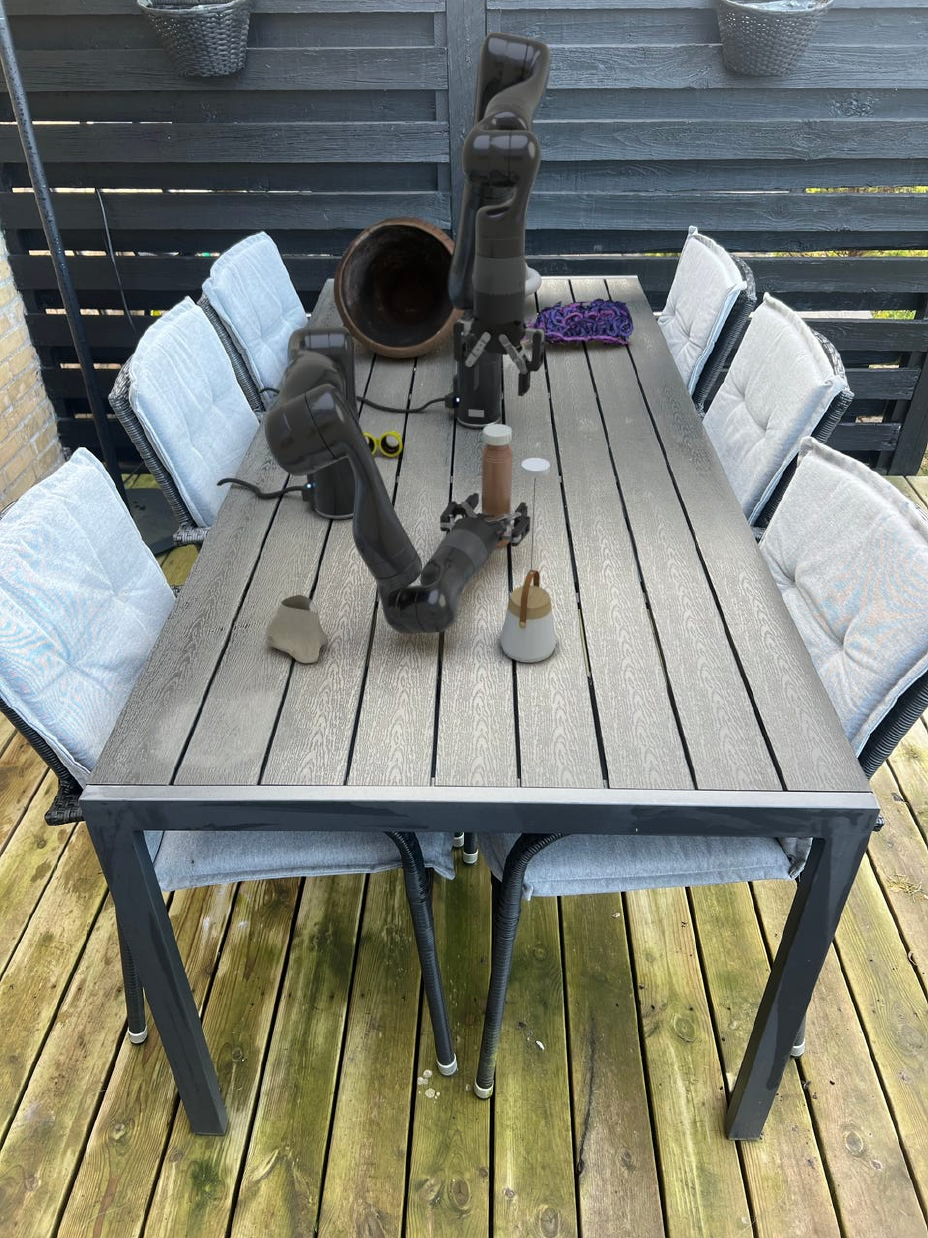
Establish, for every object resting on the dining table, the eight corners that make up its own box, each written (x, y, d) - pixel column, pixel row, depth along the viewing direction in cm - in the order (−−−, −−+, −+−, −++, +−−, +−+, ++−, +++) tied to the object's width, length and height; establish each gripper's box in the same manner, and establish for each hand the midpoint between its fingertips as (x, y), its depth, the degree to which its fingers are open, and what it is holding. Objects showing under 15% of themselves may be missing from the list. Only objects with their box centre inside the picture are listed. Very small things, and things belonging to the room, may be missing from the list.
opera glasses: (402, 450, 189) (400, 426, 187) (403, 457, 184) (401, 432, 182) (354, 452, 188) (352, 428, 186) (354, 460, 184) (352, 435, 182)
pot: (369, 208, 238) (367, 184, 209) (481, 265, 243) (494, 249, 214) (320, 328, 244) (311, 320, 215) (430, 381, 249) (435, 380, 220)
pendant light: (546, 668, 133) (557, 484, 115) (492, 656, 136) (495, 473, 117) (562, 635, 139) (574, 455, 121) (510, 624, 142) (515, 445, 123)
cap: (511, 432, 151) (511, 423, 150) (512, 445, 147) (512, 436, 147) (482, 432, 151) (482, 423, 150) (483, 445, 147) (483, 436, 147)
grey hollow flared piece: (327, 654, 140) (334, 590, 137) (317, 670, 132) (324, 604, 130) (268, 645, 140) (274, 582, 137) (255, 661, 132) (261, 594, 130)
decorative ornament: (640, 324, 222) (516, 326, 219) (631, 360, 231) (512, 363, 228) (629, 291, 230) (509, 293, 227) (621, 327, 238) (506, 329, 236)
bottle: (509, 531, 163) (512, 425, 151) (511, 547, 159) (513, 439, 147) (481, 532, 163) (481, 425, 151) (481, 547, 159) (482, 439, 147)
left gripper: (507, 539, 142) (540, 490, 154) (422, 521, 146) (461, 475, 158) (506, 579, 147) (538, 529, 158) (423, 561, 151) (461, 513, 163)
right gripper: (554, 280, 135) (549, 387, 145) (461, 271, 139) (462, 375, 149) (539, 297, 130) (535, 407, 140) (443, 286, 134) (446, 394, 144)
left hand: (500, 502), depth 158 cm, fingers open, 8 cm apart
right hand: (498, 390), depth 144 cm, fingers open, 7 cm apart
